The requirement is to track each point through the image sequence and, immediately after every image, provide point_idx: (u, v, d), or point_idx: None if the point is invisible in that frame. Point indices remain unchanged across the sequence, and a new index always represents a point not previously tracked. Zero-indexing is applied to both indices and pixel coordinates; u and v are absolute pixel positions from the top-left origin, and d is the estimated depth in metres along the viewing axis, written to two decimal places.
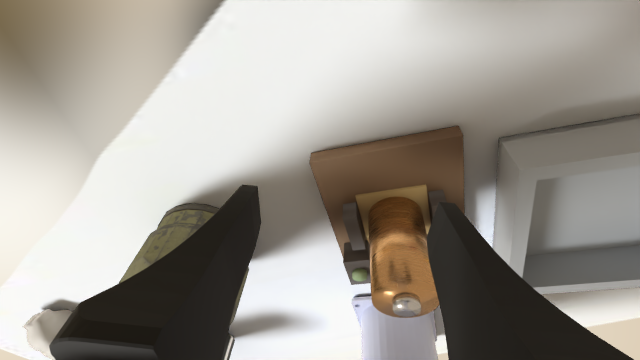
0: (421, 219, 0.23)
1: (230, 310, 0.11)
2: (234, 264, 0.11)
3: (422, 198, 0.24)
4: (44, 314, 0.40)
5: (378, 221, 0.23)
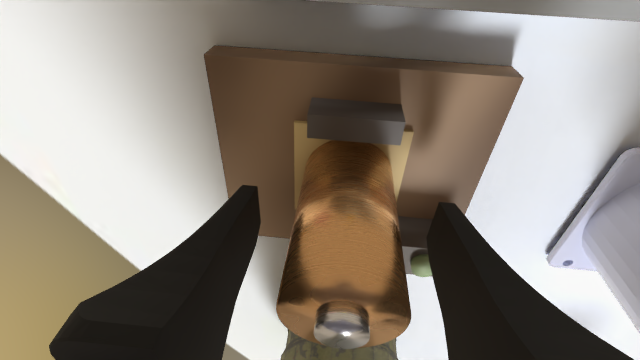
0: (330, 159, 0.13)
1: (230, 310, 0.11)
2: (234, 264, 0.11)
3: None
4: None
5: None
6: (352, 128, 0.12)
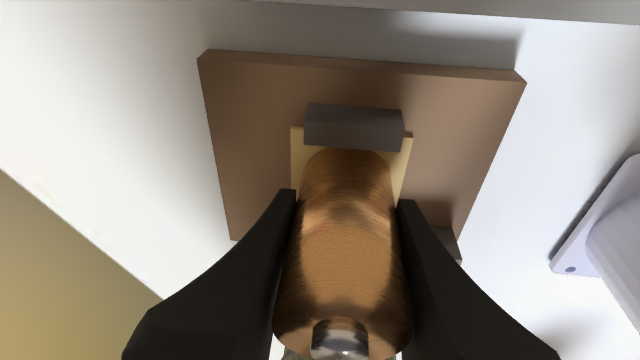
0: (327, 166, 0.13)
1: None
2: (278, 269, 0.11)
3: None
4: None
5: None
6: (350, 135, 0.12)
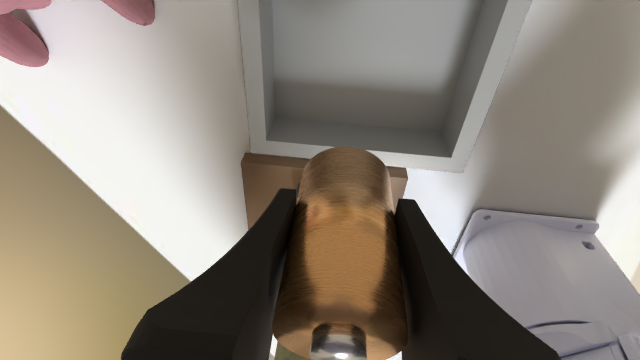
0: (328, 169, 0.13)
1: None
2: (278, 268, 0.11)
3: None
4: None
5: None
6: None
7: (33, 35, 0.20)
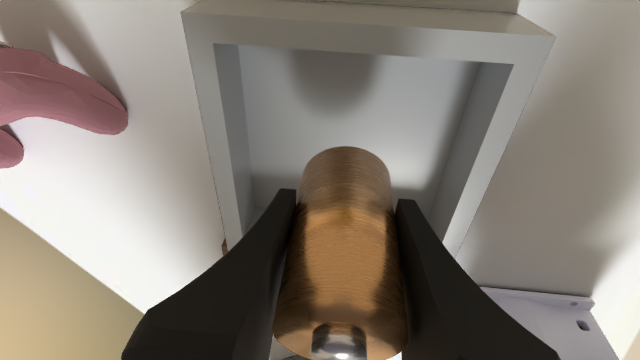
0: (328, 169, 0.13)
1: None
2: (278, 269, 0.11)
3: None
4: None
5: None
6: None
7: (6, 137, 0.20)
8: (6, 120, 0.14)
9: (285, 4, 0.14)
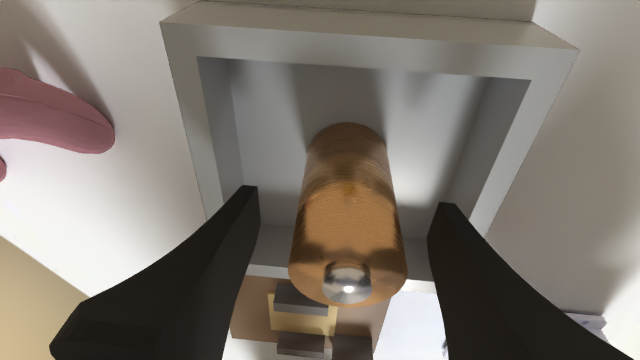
0: (333, 140, 0.14)
1: (230, 309, 0.11)
2: (234, 264, 0.11)
3: None
4: None
5: None
6: (299, 309, 0.22)
7: None
8: None
9: (277, 12, 0.12)
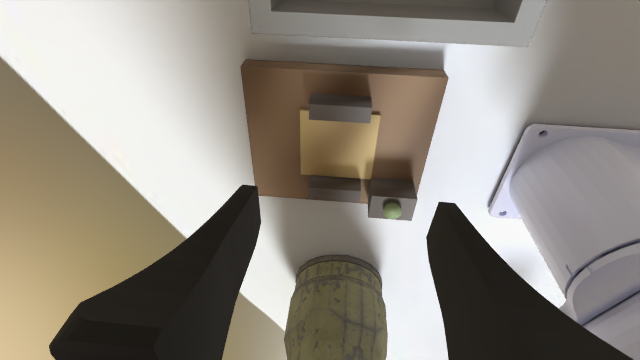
0: None
1: (230, 309, 0.11)
2: (234, 264, 0.11)
3: None
4: None
5: None
6: (338, 112, 0.19)
7: None
8: None
9: None
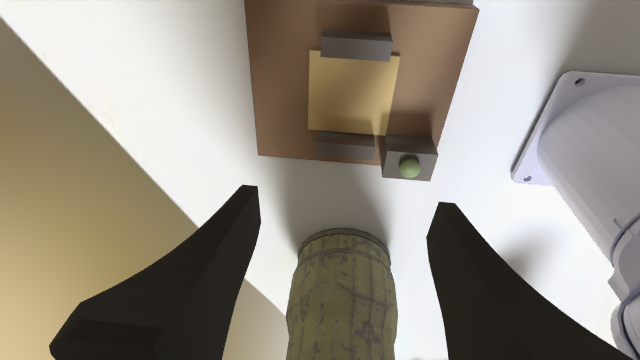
0: None
1: (230, 310, 0.11)
2: (234, 264, 0.11)
3: (328, 58, 0.19)
4: None
5: None
6: (354, 48, 0.17)
7: None
8: None
9: None
